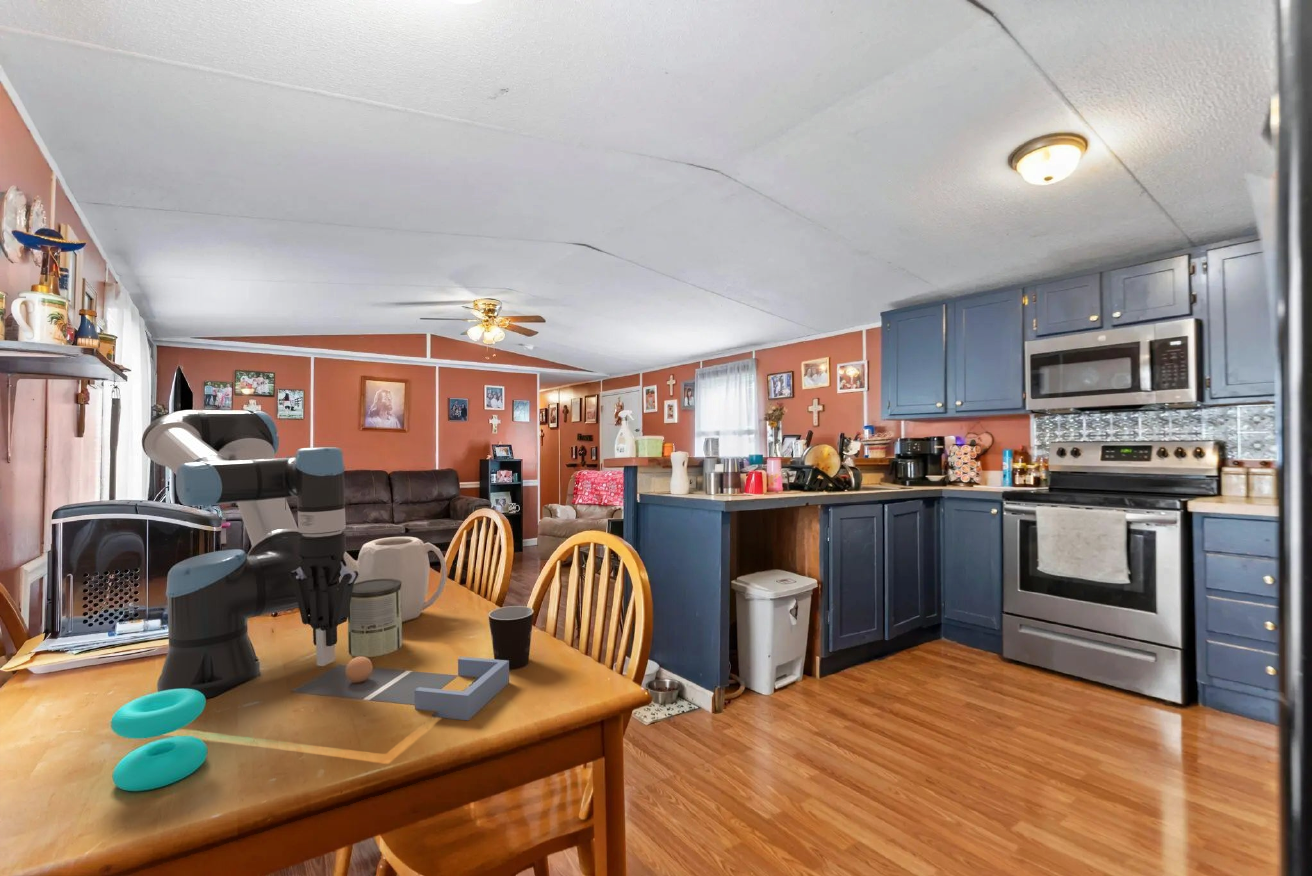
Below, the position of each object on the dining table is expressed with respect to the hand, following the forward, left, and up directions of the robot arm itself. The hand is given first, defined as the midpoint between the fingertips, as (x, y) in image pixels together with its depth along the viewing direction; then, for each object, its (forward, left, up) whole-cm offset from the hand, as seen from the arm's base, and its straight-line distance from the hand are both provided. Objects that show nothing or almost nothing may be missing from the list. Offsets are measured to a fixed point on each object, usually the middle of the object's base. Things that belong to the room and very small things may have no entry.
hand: (325, 662), depth 111 cm
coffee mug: (+29, +17, -4) cm, 34 cm away
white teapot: (-13, +35, -4) cm, 38 cm away
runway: (+10, 0, -4) cm, 11 cm away
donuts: (-1, -29, -4) cm, 29 cm away
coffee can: (-1, +15, -4) cm, 16 cm away
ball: (+7, 0, -3) cm, 7 cm away
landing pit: (+27, 0, -4) cm, 27 cm away
